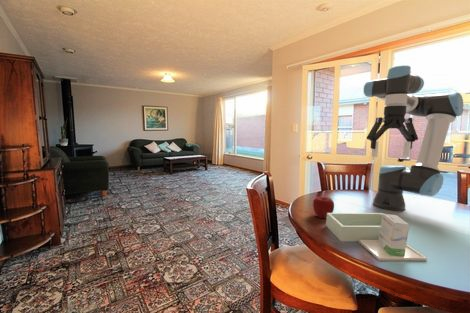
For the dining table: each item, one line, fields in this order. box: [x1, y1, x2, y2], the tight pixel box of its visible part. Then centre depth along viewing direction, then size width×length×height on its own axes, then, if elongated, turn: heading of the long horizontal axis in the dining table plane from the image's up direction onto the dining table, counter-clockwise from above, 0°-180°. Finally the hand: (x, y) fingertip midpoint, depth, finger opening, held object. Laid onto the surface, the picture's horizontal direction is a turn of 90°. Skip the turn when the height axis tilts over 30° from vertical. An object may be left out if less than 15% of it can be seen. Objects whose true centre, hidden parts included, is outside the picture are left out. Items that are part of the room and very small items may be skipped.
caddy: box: [325, 212, 384, 242], centre depth 95 cm, size 25×14×6 cm, turn 91°
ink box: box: [378, 213, 410, 256], centre depth 81 cm, size 9×5×12 cm, turn 171°
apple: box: [312, 196, 335, 219], centre depth 112 cm, size 10×10×10 cm
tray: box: [358, 240, 428, 262], centre depth 82 cm, size 16×12×1 cm
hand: (390, 156), depth 97 cm, fingers open, 13 cm apart
